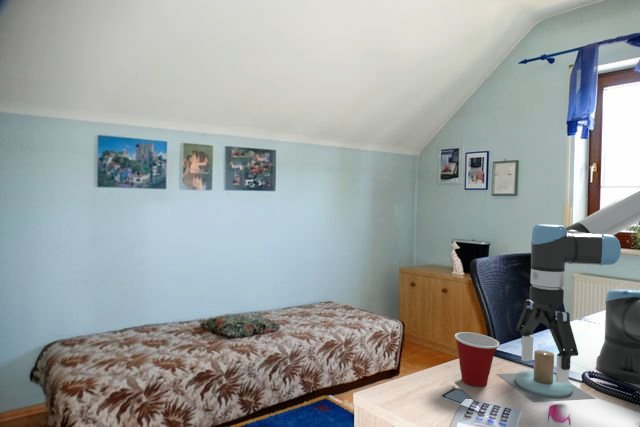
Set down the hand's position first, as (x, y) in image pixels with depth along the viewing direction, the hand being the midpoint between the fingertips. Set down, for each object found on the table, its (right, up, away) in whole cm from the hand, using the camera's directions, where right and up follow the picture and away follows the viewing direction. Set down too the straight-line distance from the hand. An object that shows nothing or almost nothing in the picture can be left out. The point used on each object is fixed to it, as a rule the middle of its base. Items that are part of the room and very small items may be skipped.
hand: (543, 370), depth 111 cm
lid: (0, -4, 0) cm, 4 cm away
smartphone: (-20, -5, -9) cm, 22 cm away
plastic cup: (-16, -4, +2) cm, 17 cm away
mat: (0, -4, 0) cm, 4 cm away
